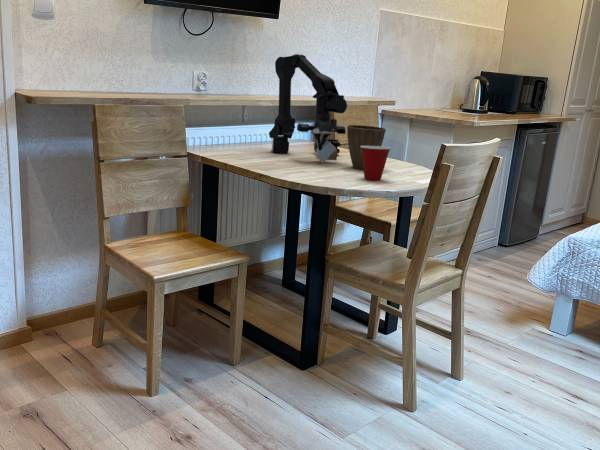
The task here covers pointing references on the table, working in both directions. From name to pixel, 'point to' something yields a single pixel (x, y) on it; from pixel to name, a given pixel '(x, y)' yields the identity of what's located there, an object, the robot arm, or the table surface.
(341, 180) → the table surface
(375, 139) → the plant pot
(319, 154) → the slate block
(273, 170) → the table surface
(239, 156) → the table surface
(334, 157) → the walnut block
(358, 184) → the table surface
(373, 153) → the plastic cup
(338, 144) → the end cap
